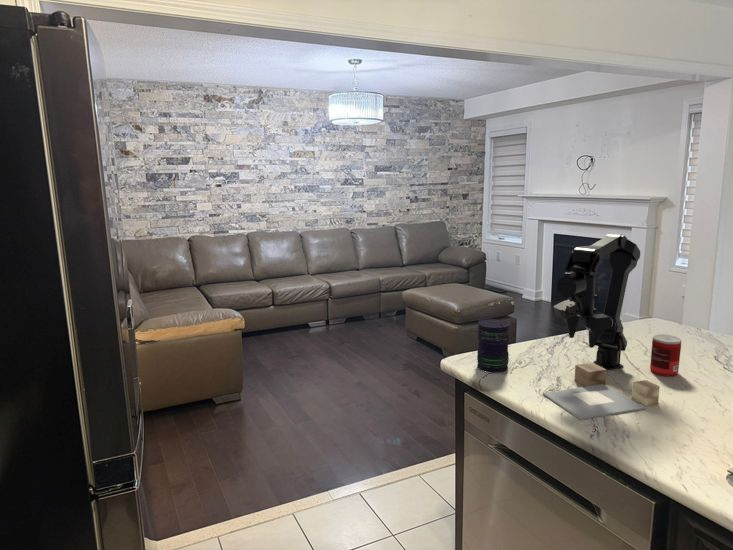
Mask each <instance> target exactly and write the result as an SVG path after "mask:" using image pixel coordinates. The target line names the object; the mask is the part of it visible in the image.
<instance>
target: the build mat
mask: <svg viewBox="0 0 733 550" xmlns="http://www.w3.org/2000/svg"><path fill="white" fill-rule="evenodd" d="M542 395H543V396H544V397H545V398H547V399H548V400H550V401H552V402H553V403H555V404H556V405H557V404H558V405H557V406H559V405H560V406H561V408H562V407H563V408H564V409H563V408H562V409H563V410H565V409H566V410H567V413H569V412H570V413H569V414H570V415H572V416H574V417H575V418H577V419H578V420H580V421H582V420H587V419H593V418H600V417H607V416H611V415H618V414H623V413H631V412H636V411H643V410H646V409H647V407H646V406H644V405H642V404H640V403H638V402H636V401H634V400H633V399H632V398H629V397H627V396H625V395H624V394H621V393H620V392H619V391H617V390H615V389H612V387H609V386H607V385H604V384H600V385H593V386H586V387H585V386H581V387H573V388H566V389H560V390H554V391H546V392H542ZM560 406H559V407H560ZM566 410H565V411H566Z"/></svg>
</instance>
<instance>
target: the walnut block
mask: <svg viewBox="0 0 733 550" xmlns="http://www.w3.org/2000/svg"><path fill="white" fill-rule="evenodd" d="M574 367H575V368H574V381H575V382H576V383H579V384H580V385H582V386H583V387H586V386H593V385H600V384H604V385H605V386H607V385H606V383H607V370H608V369H605V368H603V367H601V366H599V365H597V364H595V363H594V362H587V363H581V364H575V365H574Z"/></svg>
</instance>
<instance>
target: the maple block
mask: <svg viewBox="0 0 733 550" xmlns="http://www.w3.org/2000/svg"><path fill="white" fill-rule="evenodd" d="M660 388H661V386H660V385H658V384H656V383H654V382H652V381H650V380H648V379H643V380H638V381H637V380H636V381H632V388H631V400H633V401H635V402H637V403H639V404H641V405H642V406H644V407H646V406H651V405H657V404H659V400H660V399H659V397H660Z"/></svg>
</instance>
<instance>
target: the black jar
mask: <svg viewBox="0 0 733 550" xmlns="http://www.w3.org/2000/svg"><path fill="white" fill-rule="evenodd" d="M477 326H478V327H477V328H478V329H477V340H478V349H477V354H476V355H477V356H476V359H477V362H476V363H477V369H478V368H479V370H480V371H482V372H484V371H486V372H485V373H489V372H491V373H492V374H502V373H505V372H507V371H508V369H509V361H510V360H509V359H510V358H509V341H510V322H509V321H507V320H504V319H500V318H499V319H498V318H483V319H480V320H478V324H477Z"/></svg>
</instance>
